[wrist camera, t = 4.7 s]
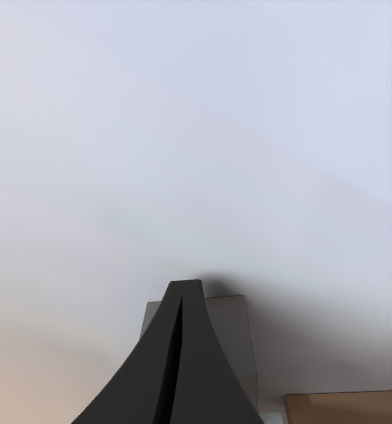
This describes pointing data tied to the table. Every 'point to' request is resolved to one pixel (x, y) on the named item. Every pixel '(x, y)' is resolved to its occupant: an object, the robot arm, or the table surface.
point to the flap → (271, 418)
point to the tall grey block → (227, 337)
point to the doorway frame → (340, 408)
